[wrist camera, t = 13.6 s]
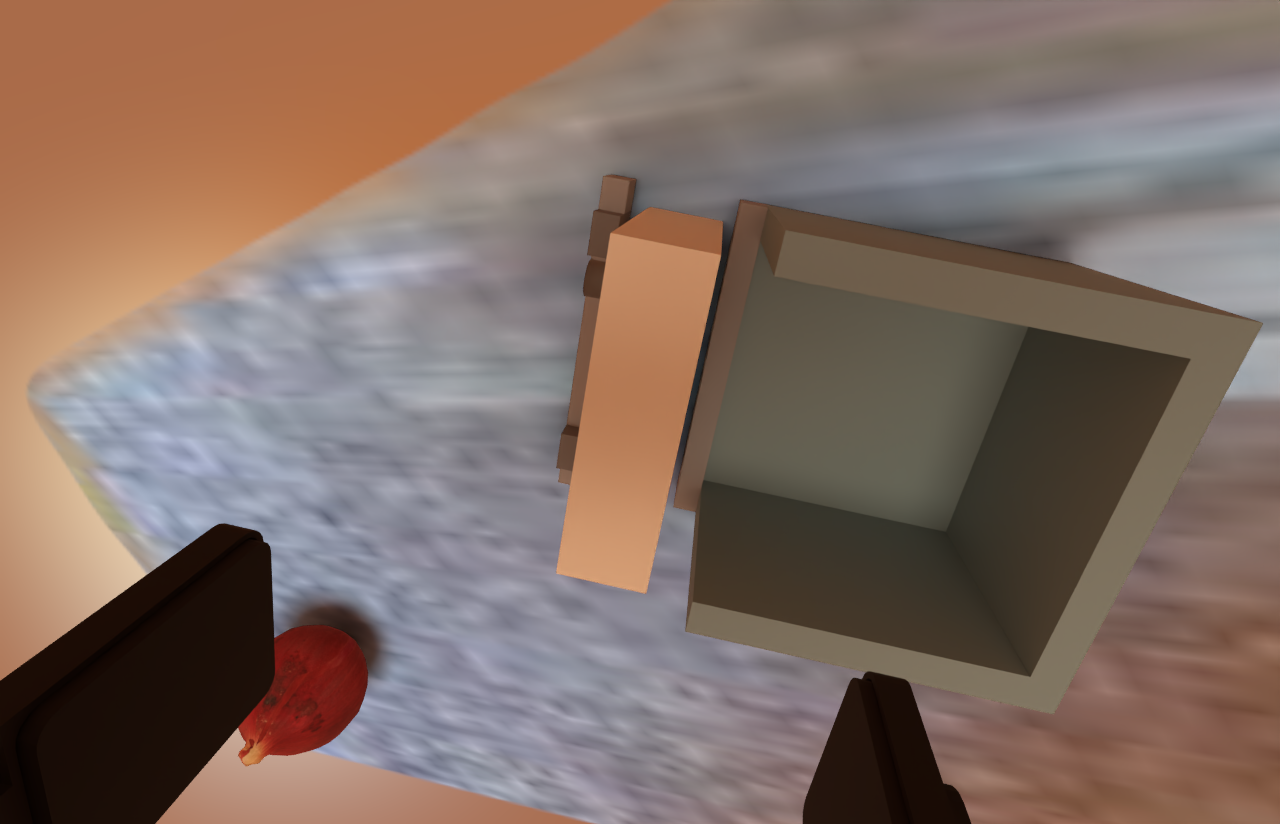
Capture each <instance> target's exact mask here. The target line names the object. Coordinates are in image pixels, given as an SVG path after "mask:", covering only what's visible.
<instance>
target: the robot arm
mask: <svg viewBox="0 0 1280 824" xmlns="http://www.w3.org/2000/svg"><path fill="white" fill-rule="evenodd" d="M274 676H275V648H274V621H273V594H272V568H271V549H270V546H269V544H268V543H265V542H263V537H262V535H261V533H260V532H258V531H255V530H251V529H247V528H242V527H238V526H234V525H229V524H225V523H224V524H218V525H216V526H214V527H213V528H211V529H210V530H208V531H207V532H206V533H204V534H203V535H202V536H200V537H199V538H197V539H196V540H195V541H193V542H192V543H190V544H189V545H188V546H186V547H185V548H184V549H182V550H181V551H179V552H178V553H177V554H175V555H174V556H172V557H171V558H170V559H168V560H167V561H166V562H164V563H163V564H161V565H160V566H159V567H157V568H156V569H154V570H153V571H152V572H150V573H149V574H147V575H146V576H145V577H143V578H142V579H141V580H139V581H138V582H137V583H135V584H134V585H132V586H131V587H129V588H128V589H127V590H125V591H124V592H123V593H121V594H120V595H118V596H117V597H116V598H114V599H113V600H111V601H110V602H109V603H108V604H106V605H105V606H103V607H102V608H100V609H99V610H98V611H96V612H95V613H93V614H92V615H91V616H89V617H88V618H86V619H85V620H84V621H82V622H81V623H80V624H78V625H77V626H75V627H74V628H73V629H71V630H70V631H68V632H67V633H66V634H64V635H63V636H62V637H60V638H59V639H57V640H56V641H55V642H53V643H52V644H50V645H49V646H48V647H46V648H45V649H44V650H42V651H41V652H39V653H38V654H37V655H35V656H34V657H32V658H31V659H30V660H28V661H27V662H25V663H24V664H23V665H21V666H20V667H19V668H17V669H16V670H14V671H13V672H12V673H10V674H9V675H7V676H6V677H5V678H3V679H2V680H1V681H0V824H155V823H156V822H157V821H158V820H159V819H160V817H161V816H162V815H163V814H164V813H165V812H166V811H167V809H168V808H169V807H170V806H171V805H172V803H173V802H174V801H175V800H176V799H177V798H178V797H179V795H180V794H181V793H182V792H183V791H184V790H185V788H186V787H187V786H188V785H189V784H190V783H191V781H192V780H193V779H194V778H195V777H196V776H197V774H198V773H199V772H200V771H201V770H202V769H203V768H204V766H205V765H206V764H207V763H208V761H210V759H211V758H212V757H213V756H214V755H215V753H216V752H217V751H218V750H219V749H220V748H221V746H222V745H223V744H224V743H225V742H226V741H227V740H228V738H229V737H230V736H231V735H232V734H233V732H234V731H235V730H236V729H237V728H238V727H239V726H240V725H241V723H242V722H243V721H244V720H245V719H246V718H247V716H248V715H249V714H250V713H251V712H252V711H253V709H254V708H255V707H256V706H257V705H258V704H259V702H260V701H261V700H262V699H263V698H264V697H265V695H266V694H267V692H268V691H269V689H270V687H271V685H272V683H273V680H274ZM803 824H971V822H970V819H969V816H968V813H967V810H966V808H965V805H964V802H963V800H962V798H961V796H960V794H959V792H958V791H957V790H956V789H955V788H954V787H953V786H951V785H947V784H943V781H942V778H941V775H940V772H939V769H938V767H937V764H936V761H935V758H934V755H933V752H932V749H931V746H930V743H929V740H928V737H927V734H926V731H925V728H924V725H923V722H922V719H921V716H920V713H919V710H918V707H917V704H916V701H915V698H914V695H913V692H912V689H911V686H910V684H909V682H908V681H907V680H906V679H902V678H898V677H894V676H889V675H885V674H880V673H876V672H872V671H867V672H866V673H865V674H864V676H863V678H862V679H858V678H853V679H852V680H851V681H850V683H849V685H848V688H847V691H846V693H845V696H844V699H843V701H842V704H841V707H840V709H839V712H838V714H837V717H836V720H835V722H834V725H833V728H832V730H831V733H830V736H829V738H828V741H827V743H826V746H825V749H824V751H823V754H822V757H821V759H820V762H819V765H818V767H817V770H816V772H815V775H814V778H813V780H812V783H811V786H810V788H809V791H808V794H807V796H806V799H805V803H804V809H803Z"/></svg>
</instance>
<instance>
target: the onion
mask: <svg viewBox="0 0 1280 824" xmlns="http://www.w3.org/2000/svg"><path fill="white" fill-rule="evenodd" d="M274 648H275V676H274V680H273V683H272V685H271V687H270V689H269V691H268V692H267V694H266V695H265V697H264V698H263V699H262V700H261V701H260V702H259V704H258V705H257V706H256V707H255V708H254V709H253V711H252V712H251V713H250V714H249V715H248V716H247V718H246V719H245V720H244V721H243V722H242V723H241V725H240V726H239V727H238V728H239V731H240V733H241V735H242V737H243V739H244V740H245V741H246V744H245V747H244V748H243V749H242V750H241V751H240V753H239V755H238V756H239V757H240V759H241V761H242V763H243V764H244V765H245V766H249V765H251V764H258V763H260V762H261V760H262V759H263V758H264V757H265V756H267V755H269V754H270V755H286V756H288V755H296V754H299V753H303V752H307V751H311V750H314V749H317V748H319V747H321V746H323V745H325V744H327V743H329V742H331V741H332V740H333V739H334V738H336V737H337V736H338V735H339V734H340V733H341V732H342V731H343V730H344V729H345V728H346V726H347V725H348V724H349V723H350V722H351V721H352V719H353V718H354V717H355V716H356V715H357V713H358V712H359V710H360V707H361V705H362V702H363V700H364V696H365V692H366V689H367V683H368V670H367V665H366V660H365V657H364V655H363V652H362V650H361V649H360V647H359V646H358V644H357V642H356V641H355V640H354V639H353V638H351V637H350V636H349V635H348V634H346V633H345V632H344V631H341V630H338V629H336V628H333V627H330V626H325V625H307V626H300V627H296V628H292V629H290V630H288V631H286V632H284V633H283V634H281V635H279V636H277V637H275V638H274Z"/></svg>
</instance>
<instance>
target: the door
mask: <svg viewBox="0 0 1280 824" xmlns="http://www.w3.org/2000/svg"><path fill="white" fill-rule="evenodd" d="M722 230H723V221H719V220H714V219H708V218H703V217H698V216H693V215H688V214H683V213H678V212H673V211H668V210H663V209H658V208H653V207H649V208H647V209H646V210H644V211H643V212H641V213H640V214H638V215H637V216H635V217H634V218H632V219H631V220H629V221H628V222H626V223H625V224H623V225H622V226H620V227H619V228H617V229H616V230H614V231H613V232H611V233H610V239H609V245H608V252H607V258H606V262H603V261H598V260H593V259H590V261H589V263H588V266H587V269H586V274H585V279H584V287H583V294H584V296H588V297H593V298H597V299H600V302H599V308H598V314H597V321H596V327H595V333H594V339H593V346H592V352H591V358H590V365H589V371H588V377H587V383H586V390H585V396H584V402H583V408H582V415H581V421H580V427H579V434H578V440H577V446H576V452H575V459H574V465H573V471H572V477H571V484H570V490H569V496H568V502H567V509H566V515H565V521H564V528H563V534H562V540H561V546H560V553H559V559H558V565H557V571H556V573H557V574H561V575H566V576H570V577H575V578H579V579H583V580H588V581H592V582H597V583H601V584H606V585H610V586H614V587H619V588H623V589H628V590H632V591H637V592H641V593H645V594H646V591H647V587H648V582H649V578H650V573H651V569H652V564H653V560H654V555H655V551H656V546H657V542H658V537H659V533H660V528H661V524H662V519H663V515H664V510H665V506H666V501H667V497H668V492H669V488H670V483H671V479H672V474H673V470H674V465H675V461H676V456H677V452H678V447H679V443H680V438H681V434H682V429H683V425H684V420H685V416H686V411H687V407H688V402H689V398H690V393H691V389H692V384H693V380H694V375H695V371H696V366H697V362H698V357H699V353H700V348H701V344H702V339H703V335H704V330H705V326H706V321H707V317H708V312H709V308H710V303H711V299H712V294H713V290H714V285H715V281H716V276H717V272H718V267H719V263H720V258H721V249H722Z"/></svg>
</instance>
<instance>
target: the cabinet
mask: <svg viewBox="0 0 1280 824" xmlns="http://www.w3.org/2000/svg"><path fill="white" fill-rule="evenodd" d="M635 185H636V179H632V178H627V177H622V176H617V175H606V176H603V182H602V188H601V195H600V202H599V209H597V210H595V211H594V212H593V219H592V226H591V233H590V239H589V246H588V253H587V255H590V256H591V259H593V260H598V261H603V262H606V258H607V252H608V245H609V239H610V233H611V232H613V231H614V230H616V229H617V228H619V227H620V226H622V225H623V224H625V223H626V222H628V221H629V220H630V215H631V209H632V203H633V197H634V191H635ZM599 302H600V299H597V298H593V297H588V296H586V297H585V304H584V311H583V317H582V324H581V331H580V338H579V345H578V351H577V358H576V365H575V372H574V379H573V385H572V392H571V399H570V406H569V413H568V419H567V425H566V427H565V428H564V430H563V432H562V434H561V440H560V447H559V453H558V460H557V467H556V468H559V469H560V474H559V480H558V482H560V483H565V484H569V485H570V484H571V477H572V471H573V465H574V459H575V452H576V446H577V440H578V434H579V427H580V421H581V415H582V408H583V402H584V396H585V390H586V383H587V377H588V371H589V365H590V358H591V352H592V346H593V339H594V333H595V327H596V321H597V314H598V308H599ZM1262 324H1263V323H1261V322H1258V321H1255V320H1252V319H1249V318H1245V317H1242V316H1239V315H1236V314H1233V313H1229V312H1226V311H1223V310H1220V309H1217V308H1213V307H1210V306H1207V305H1204V304H1201V303H1197V302H1194V301H1191V300H1188V299H1184V298H1181V297H1178V296H1175V295H1172V294H1168V293H1165V292H1162V291H1159V290H1156V289H1152V288H1149V287H1146V286H1143V285H1140V284H1136V283H1133V282H1130V281H1127V280H1124V279H1120V278H1117V277H1114V276H1111V275H1108V274H1104V273H1101V272H1098V271H1095V270H1092V269H1088V268H1085V267H1082V266H1079V265H1076V264H1072V263H1067V262H1062V261H1057V260H1052V259H1047V258H1042V257H1036V256H1031V255H1026V254H1021V253H1016V252H1011V251H1005V250H1000V249H995V248H990V247H985V246H979V245H974V244H969V243H964V242H959V241H954V240H948V239H943V238H938V237H933V236H928V235H922V234H917V233H912V232H907V231H902V230H897V229H891V228H886V227H881V226H876V225H871V224H865V223H860V222H855V221H850V220H845V219H840V218H834V217H829V216H824V215H819V214H814V213H809V212H803V211H798V210H793V209H788V208H783V207H777V206H772V205H767V204H762V203H757V202H752V201H746V200H741V199H740V203H739V207H738V212H737V216H736V221H735V225H734V230H733V234H732V239H731V243H730V248H729V252H728V257H727V261H726V266H725V270H724V275H723V279H722V284H721V288H720V293H719V297H718V302H717V306H716V311H715V315H714V320H713V324H712V329H711V333H710V338H709V342H708V347H707V351H706V356H705V360H704V365H703V369H702V374H701V378H700V383H699V387H698V392H697V396H696V401H695V405H694V410H693V414H692V419H691V423H690V428H689V432H688V437H687V441H686V446H685V451H684V455H683V460H682V464H681V469H680V473H679V478H678V482H677V487H676V493H675V500H674V506H673V507H676V508H680V509H685V510H689V511H694V512H696V515H695V526H694V538H693V549H692V561H691V572H690V584H689V595H688V607H687V618H686V629H685V631H686V632H690V633H695V634H699V635H703V636H708V637H712V638H717V639H721V640H726V641H730V642H735V643H739V644H743V645H748V646H752V647H757V648H761V649H766V650H770V651H775V652H779V653H783V654H788V655H792V656H797V657H801V658H806V659H810V660H814V661H819V662H823V663H828V664H832V665H837V666H841V667H846V668H850V669H854V670H859V671H863V672H867V671H872V672H876V673H880V674H885V675H889V676H894V677H898V678H902V679H906V680H907V681H908V682H912V683H917V684H921V685H926V686H930V687H934V688H939V689H943V690H948V691H952V692H957V693H961V694H965V695H970V696H974V697H979V698H983V699H988V700H992V701H997V702H1001V703H1005V704H1010V705H1014V706H1019V707H1023V708H1028V709H1032V710H1037V711H1041V712H1045V713H1050V714H1054V713H1055V711H1056V709H1057V707H1058V705H1059V704H1060V702H1061V700H1062V698H1063V696H1064V694H1065V692H1066V690H1067V689H1068V687H1069V685H1070V683H1071V681H1072V679H1073V677H1074V676H1075V674H1076V672H1077V670H1078V668H1079V666H1080V664H1081V662H1082V661H1083V659H1084V657H1085V655H1086V653H1087V651H1088V649H1089V647H1090V646H1091V644H1092V642H1093V640H1094V638H1095V636H1096V634H1097V633H1098V631H1099V629H1100V627H1101V625H1102V623H1103V621H1104V619H1105V618H1106V616H1107V614H1108V612H1109V610H1110V608H1111V606H1112V605H1113V603H1114V601H1115V599H1116V597H1117V595H1118V593H1119V591H1120V590H1121V588H1122V586H1123V584H1124V582H1125V580H1126V578H1127V577H1128V575H1129V573H1130V571H1131V569H1132V567H1133V565H1134V563H1135V562H1136V560H1137V558H1138V556H1139V554H1140V552H1141V550H1142V549H1143V547H1144V545H1145V543H1146V541H1147V539H1148V537H1149V535H1150V534H1151V532H1152V530H1153V528H1154V526H1155V524H1156V522H1157V521H1158V519H1159V517H1160V515H1161V513H1162V511H1163V509H1164V507H1165V506H1166V504H1167V502H1168V500H1169V498H1170V496H1171V494H1172V492H1173V491H1174V489H1175V487H1176V485H1177V483H1178V481H1179V479H1180V478H1181V476H1182V474H1183V472H1184V470H1185V468H1186V466H1187V464H1188V463H1189V461H1190V459H1191V457H1192V455H1193V453H1194V451H1195V450H1196V448H1197V446H1198V444H1199V442H1200V440H1201V438H1202V436H1203V435H1204V433H1205V431H1206V429H1207V427H1208V425H1209V423H1210V422H1211V420H1212V418H1213V416H1214V414H1215V412H1216V410H1217V408H1218V407H1219V405H1220V403H1221V401H1222V399H1223V397H1224V395H1225V394H1226V392H1227V390H1228V388H1229V386H1230V384H1231V382H1232V380H1233V379H1234V377H1235V375H1236V373H1237V371H1238V369H1239V367H1240V365H1241V364H1242V362H1243V360H1244V358H1245V356H1246V354H1247V352H1248V351H1249V349H1250V347H1251V345H1252V343H1253V341H1254V339H1255V337H1256V336H1257V334H1258V332H1259V330H1260V328H1261V326H1262Z"/></svg>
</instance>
